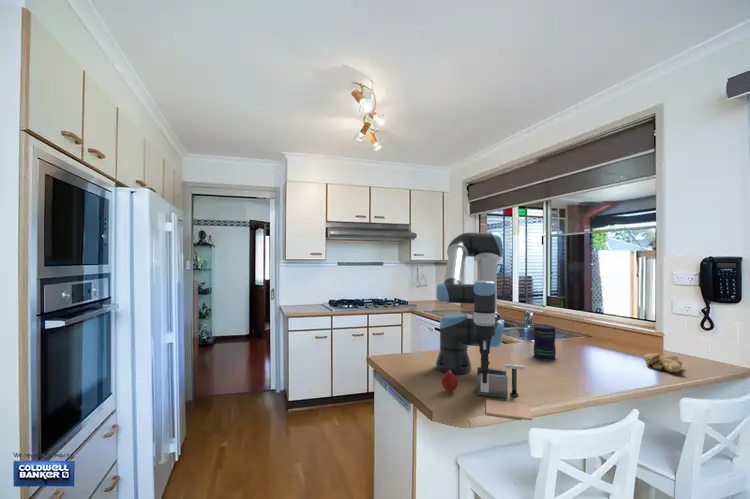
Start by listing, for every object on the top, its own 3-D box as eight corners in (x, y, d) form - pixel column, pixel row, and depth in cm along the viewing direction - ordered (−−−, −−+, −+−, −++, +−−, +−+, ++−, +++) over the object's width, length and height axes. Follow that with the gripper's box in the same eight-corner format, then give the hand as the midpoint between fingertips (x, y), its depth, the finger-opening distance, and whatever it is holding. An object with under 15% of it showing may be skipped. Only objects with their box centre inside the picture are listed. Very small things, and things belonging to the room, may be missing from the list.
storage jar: (554, 361, 171) (554, 329, 172) (531, 357, 177) (531, 326, 177) (557, 356, 180) (556, 325, 180) (535, 353, 185) (535, 323, 186)
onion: (439, 389, 133) (439, 367, 133) (455, 389, 134) (455, 367, 134) (443, 395, 127) (443, 372, 128) (460, 395, 128) (460, 372, 128)
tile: (486, 414, 112) (486, 412, 112) (486, 401, 123) (486, 399, 123) (531, 420, 108) (531, 418, 108) (527, 406, 119) (527, 404, 119)
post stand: (505, 395, 128) (505, 365, 128) (505, 393, 130) (504, 363, 130) (523, 397, 126) (523, 367, 126) (523, 394, 128) (523, 364, 129)
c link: (477, 394, 127) (477, 374, 128) (477, 386, 136) (477, 367, 136) (507, 398, 125) (507, 377, 125) (505, 388, 133) (505, 369, 133)
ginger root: (647, 358, 172) (651, 342, 171) (689, 375, 159) (694, 358, 158) (632, 364, 164) (636, 348, 162) (675, 383, 151) (680, 365, 149)
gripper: (496, 330, 120) (496, 399, 120) (494, 319, 141) (494, 378, 140) (473, 329, 122) (473, 396, 122) (474, 318, 143) (474, 376, 143)
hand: (484, 386), depth 131 cm, fingers closed on c link, 9 cm apart
